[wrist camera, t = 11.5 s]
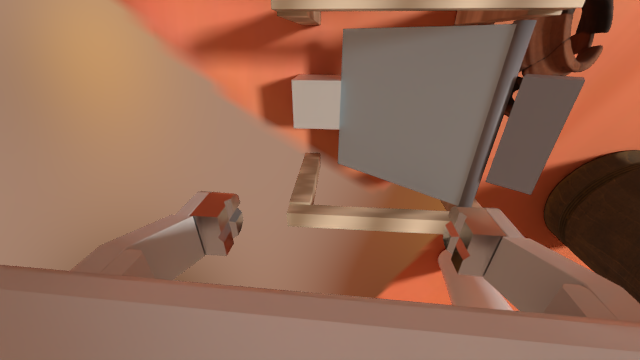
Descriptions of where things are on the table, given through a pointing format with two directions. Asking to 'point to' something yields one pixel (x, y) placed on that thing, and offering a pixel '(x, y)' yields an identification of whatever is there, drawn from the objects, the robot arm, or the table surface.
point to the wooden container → (602, 217)
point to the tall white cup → (469, 287)
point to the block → (316, 101)
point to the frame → (305, 8)
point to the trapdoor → (448, 108)
